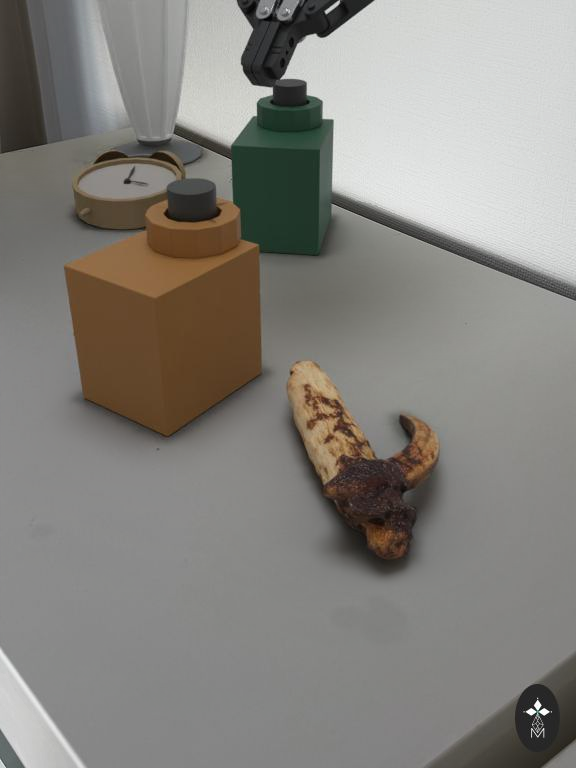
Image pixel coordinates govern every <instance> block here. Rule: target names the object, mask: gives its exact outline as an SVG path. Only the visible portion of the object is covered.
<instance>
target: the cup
mask: <svg viewBox="0 0 576 768" xmlns="http://www.w3.org/2000/svg"><path fill="white" fill-rule="evenodd" d="M96 2H97V7H98V11H99V16H100V21H101V27H102V30H103V35H104V38H105V42H106V45H107V50H108V54H109V58H110V61H111V65H112V70H113V73H114V77H115V79H116V83H117V87H118V89H119V93H120V97H121V99H122V103H123V106H124V109H125V111H126V114H127V117H128V120H129V123H130V125H131V127H132V130H133V133H134V138H135V140H136V141H133V142H129V143H128V142H127V143H125V144H121V145H119V146H117V147H115V148H114V149H113V150H117V151H120V152H123V153H124V154H126V155H127V156H130V155H139V154H150V155H152V154H153V153H156V152H158V151H168V152H171V153H173V154H175V155H176V156H177V157H178V158H179V159H180V160H181V162H182V163H183V166H184V165H187V164H190V163H193V162H195V161H196V160H198V159H199V158H201V156H202V149H201V148H200V147H198V146H197V145H196V144H193V143H190V142H187V141H183V140H174V139H173V137H174V131H175V127H176V123H177V118H178V113H179V109H180V102H181V96H182V95H181V94H182V88H183V80H184V74H185V63H186V54H187V42H188V33H189V32H188V31H189V16H190V15H189V14H190V13H189V12H190V0H96Z"/></svg>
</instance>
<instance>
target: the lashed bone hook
mask: <svg viewBox="0 0 576 768" xmlns="http://www.w3.org/2000/svg"><path fill="white" fill-rule="evenodd" d="M285 390H286V394H287V400H288V402H289V405H290V407H291V409H292V412H293V420H294V425H295V426H296V428H297V430H298V432H299V434H300V436H301V438H302V441H303V444H304V447H305V450H306V452H307V455H308V459H309V460H310V462H311V463H312V464H313V465H314V468H315V472H316V474H317V475H318V477H319V478H320V480H321V483H322V485H323V492H322V493H323V496H324V497H326V498H327V499H331V500H333V501H334V503H335V505H336V509H337V511H338V513H340V514H341V516H342V517H343V518H344V519H345V521H346V522H347V523H348V524H349V526H350V527H351V528H352V529H353V530H354V531H356V532H361V533H362V534H363V535H365V537H366V542H367V544H366V548H367V549H369V550H370V551H372V552H374V553H375V554H376V555H377V556H378V557H379V558H381V559H383V560H395V559H399V558H402V557H405V556H409V555H408V554H409V552H410V550H411V544H410V542H411V541H412V540H413V539H414V534H413V528H414V526H415V524H416V521H417V516H418V515H417V509H418V507H417V506H410V504H408V503H406V502H405V501H404V494H405V493H406V492H408V491H411V490H413V489H416V488H417V487H418V486H419V485H420V484H421V483H423V482H424V481H426V480H427V479H428V477H430V475H431V474H432V473H433V472H434V470H435V469H436V467H437V464H438V462H439V459H440V452H441V445H440V440H439V437H438V435H437V433H436V431H435V430H434V429H433V428H432V427H431V426H430V425H429V424H427V423H426V422H424V421H423V420H421V419H420V418H417V417H415V416H413V415H411V414H407V413H401V414H399V415H398V417H399V422H400V423H401V424H402V426H403V427H404V428H405V430H406V431H407V433H409V434H410V436H411V442H410V444H406V446H405V447H404V448H403V449H402V450H400V451H399V452H396V453H395V454H394V455H392V456H390V457H387V458H386V459H382V458H378V457H377V456H376V454H375V451H374V449H373V448H372V447H371V445H370V442H369V440H368V439H367V437H366V436H365V434H364V432H363V431H362V429H361V428H360V426H359V424H358V423H357V421H356V420H355V418H354V417H353V415H352V414H351V412H350V411H349V409H348V408H347V406H346V405H345V403H344V400H343V398H342V396H341V393H340V392H339V390H338V388H337V387H336V386H335V384H334V383H333V382H332V381H331V380H330V378H329V375H328V374H327V373H326V372H325V371H323V370H322V368H321V366H320V365H318V364H317V363H316V362H314V361H312V360H298V361H295V363H294V364H292V365H291V366H290V368H289V378H288V379H287V381H286V389H285Z"/></svg>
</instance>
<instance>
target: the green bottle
mask: <svg viewBox="0 0 576 768" xmlns="http://www.w3.org/2000/svg"><path fill="white" fill-rule="evenodd" d="M323 109H324V101H323V100H322V99H320V97H317V96H313V95H308V94H307V105H304V106H297V107H282V106H276V105H273V94H270V95H267V96H264V97H261V98H259V99H258V101H257V102H256V115H253V116H252V117H251V118H250V120H249V121H248V122H247V123H246V124H245V126H244V127H243V129H242V130H241V132H240V133H239V134H238V135H237V137H236V138H235V139H234V141H233V142H232V143H231V145H230V157H231V183H232V184H231V185H232V203H234V204H235V205H236V206H237V207H238V208H239V209H240V218H241V238H240V239H241V240H245V241H248V242H252V243H255V244H258V245H259V253H260V252H263V253H275V254H276V253H277V254H293V255H309V256H319V254H320V251H321V248H322V245H323V242H324V240H325V237H326V233H327V231H328V228H329V225H330V222H331V220H332V209H333V208H332V207H333V206H332V205H333V165H334V164H333V163H334V129H335V128H334V125H335V124H334V122H335V120H334V119H333V118H324V115H323V113H324V112H323V111H324V110H323Z"/></svg>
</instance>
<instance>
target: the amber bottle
mask: <svg viewBox="0 0 576 768" xmlns="http://www.w3.org/2000/svg"><path fill="white" fill-rule="evenodd" d="M216 200H217V217H216V218H214V219H211V220H208V221H202V222H195V223H193V222H177V221H174V220H170V219H169V213H168V200H165V201H162V202H160V203H158V204H155V205H153V206H151V207H150V208H149V210H148V211H147V212H146V214H145V221H146V227H145V230H141V231H140V232H138V233H136V234H133V235H131V236H129V237H127V238H124V239H121V240H120V241H116V242H114V243H112V244H110V245H108V246H105V247H103V248H101V249H98V250H96V251H94V252H92V253H89V254H87V255H84V256H82V257H80V258H78V259H75V260H73V261H71V262H68V263H66V264H64V265H63V270H64V276H65V284H66V290H67V296H68V302H69V310H70V317H71V324H72V330H73V331H72V332H73V337H74V343H75V349H76V357H77V363H78V370H79V377H80V384H81V390H82V397H83V399H86V400H88V401H90V402H93V403H94V404H96V405H98V406H101V407H102V408H105V409H107V410H109V411H112V412H114V413H116V414H118V415H121V416H123V417H124V418H126V419H129V420H131V421H133V422H136V424H140V425H141V426H143V427H146V428H148V429H151V431H155V432H157V433H158V434H160V435H163V436H165V437H169V436H171V435H172V434H174V433H175V432H177V431H178V430H181V428H183V427H184V426H185V425H187V424H189V423H190V422H191V421H193V420H194V419H196V418H197V417H198V416H200V415H202V414H203V413H205V412H206V411H208V410H209V409H211V408H212V407H214V406H215V405H217V404H218V403H219V402H221V401H222V400H224V399H225V398H227V397H229V396H230V395H231V394H233V393H234V392H236V391H237V390H239V389H240V388H241V387H243V386H244V385H246V384H248V383H249V382H250V381H252V380H253V379H255V378H257V377H258V376H260V375H261V374H262V373H263V359H262V357H263V356H262V316H261V315H262V314H261V313H262V311H261V268H260V267H261V263H260V251H259V245H258V244H255V243H252V242H248V241H245V240H241V239H240V238H241V218H240V209H239V208H238V207H237V206H236V205H235V204H234V203H233V201H231V200H228V199H224V198H219V197H216Z"/></svg>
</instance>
